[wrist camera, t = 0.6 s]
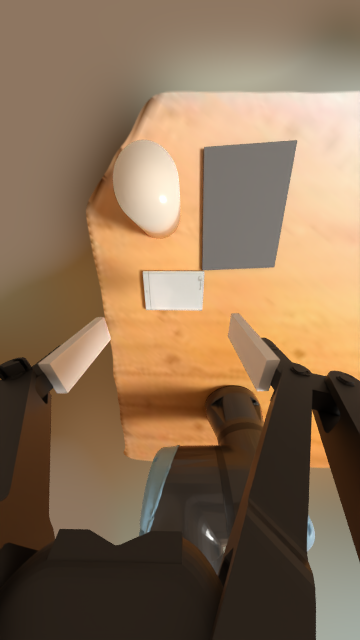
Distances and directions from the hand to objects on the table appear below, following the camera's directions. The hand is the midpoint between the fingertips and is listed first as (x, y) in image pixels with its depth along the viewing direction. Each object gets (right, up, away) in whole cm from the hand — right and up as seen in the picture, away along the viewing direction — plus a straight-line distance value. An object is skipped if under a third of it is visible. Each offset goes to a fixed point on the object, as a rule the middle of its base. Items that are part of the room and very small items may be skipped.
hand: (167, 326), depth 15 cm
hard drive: (0, +7, +16) cm, 18 cm away
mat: (+12, +20, +10) cm, 25 cm away
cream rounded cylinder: (-3, +20, +11) cm, 23 cm away
